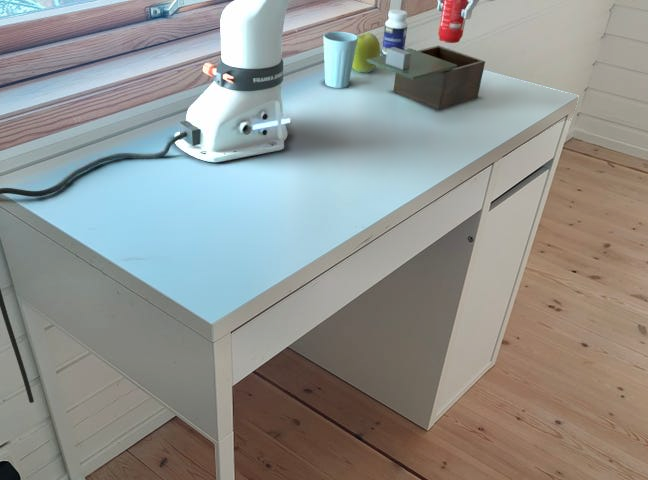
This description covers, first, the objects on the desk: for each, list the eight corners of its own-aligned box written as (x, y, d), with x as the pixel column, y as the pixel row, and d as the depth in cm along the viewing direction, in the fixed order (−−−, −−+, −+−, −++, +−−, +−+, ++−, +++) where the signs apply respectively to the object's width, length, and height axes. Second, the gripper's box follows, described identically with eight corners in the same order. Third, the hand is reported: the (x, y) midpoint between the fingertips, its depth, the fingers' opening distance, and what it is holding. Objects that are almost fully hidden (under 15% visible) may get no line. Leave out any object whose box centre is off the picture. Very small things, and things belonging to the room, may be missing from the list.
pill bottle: (379, 54, 177) (384, 13, 170) (384, 48, 181) (389, 7, 174) (401, 57, 175) (407, 15, 169) (405, 51, 179) (411, 10, 173)
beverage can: (436, 42, 148) (447, -20, 140) (438, 35, 152) (448, -26, 144) (460, 44, 147) (472, -18, 139) (461, 37, 151) (473, -23, 143)
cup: (360, 86, 158) (364, 38, 151) (334, 91, 155) (337, 43, 148) (340, 76, 163) (343, 29, 156) (314, 81, 160) (317, 34, 153)
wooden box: (438, 110, 148) (444, 72, 143) (393, 92, 156) (397, 55, 151) (477, 97, 155) (485, 61, 150) (432, 80, 163) (438, 45, 158)
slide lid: (413, 80, 138) (416, 61, 136) (366, 61, 146) (368, 44, 143) (456, 67, 145) (460, 50, 142) (409, 51, 153) (412, 33, 150)
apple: (389, 65, 167) (385, 25, 159) (366, 81, 165) (361, 42, 157) (366, 57, 171) (361, 18, 164) (343, 72, 169) (337, 33, 161)
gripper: (519, -53, 132) (501, 24, 142) (438, -70, 144) (427, 2, 153) (499, -49, 129) (482, 29, 138) (418, -68, 141) (408, 5, 150)
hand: (453, 14), depth 146 cm, fingers closed on beverage can, 5 cm apart
